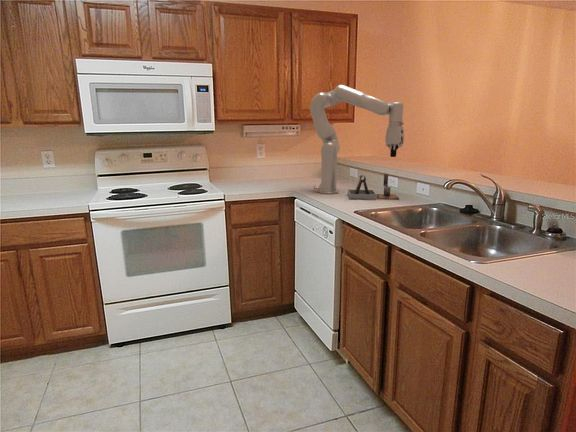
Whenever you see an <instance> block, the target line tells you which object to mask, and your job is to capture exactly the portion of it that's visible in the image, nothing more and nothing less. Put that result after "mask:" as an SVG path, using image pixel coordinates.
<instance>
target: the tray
mask: <svg viewBox="0 0 576 432" xmlns="http://www.w3.org/2000/svg"><path fill="white" fill-rule="evenodd" d="M355 190H356V189H347V196H348V197H347V198H348V200H349V201H350V200H355V201H357V200H358V201H359V200H362V201H377V200H378V199H377V194H378V193H376V192H375V190H373V189H368V191H369V194H366V193H365V189H360V190H359V193H358V194H354V192H355Z"/></svg>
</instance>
